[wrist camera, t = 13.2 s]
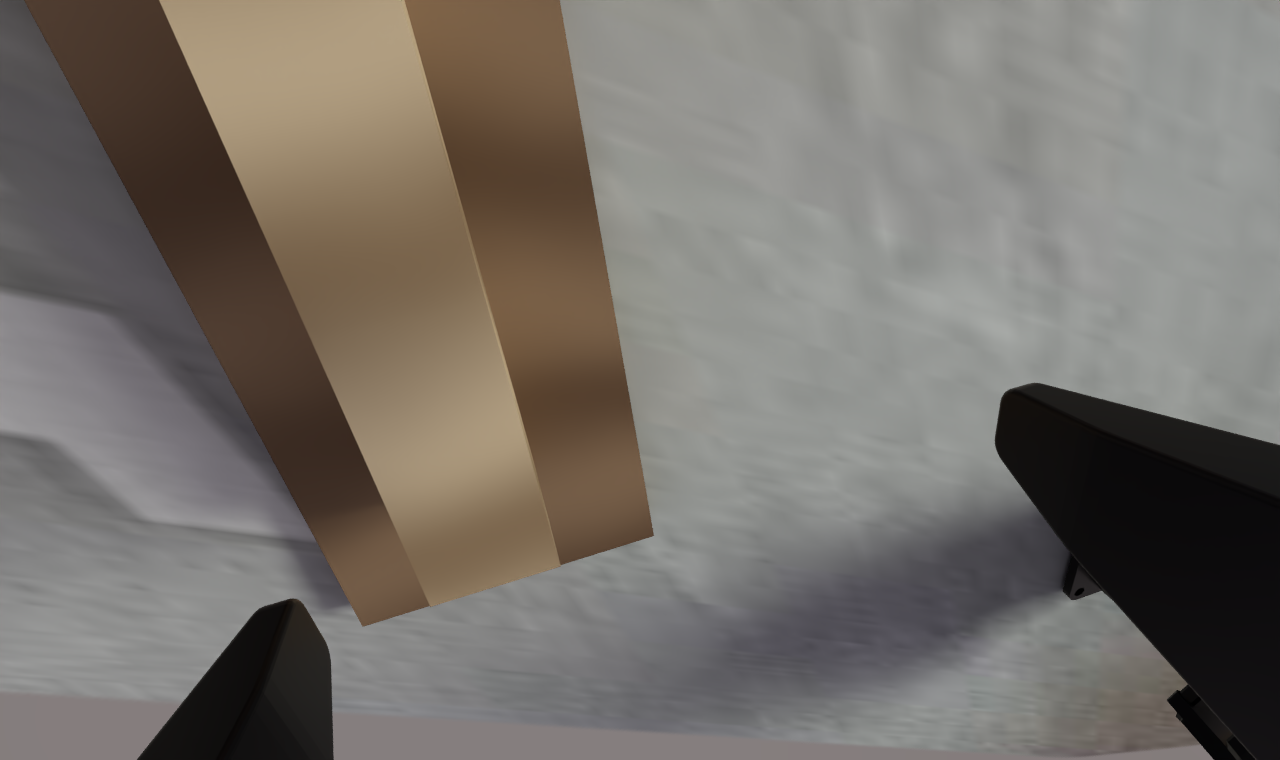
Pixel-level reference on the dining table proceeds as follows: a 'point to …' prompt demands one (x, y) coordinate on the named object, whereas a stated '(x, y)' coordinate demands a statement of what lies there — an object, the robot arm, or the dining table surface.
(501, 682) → the dining table surface
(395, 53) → the oak scraper
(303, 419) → the rest board
